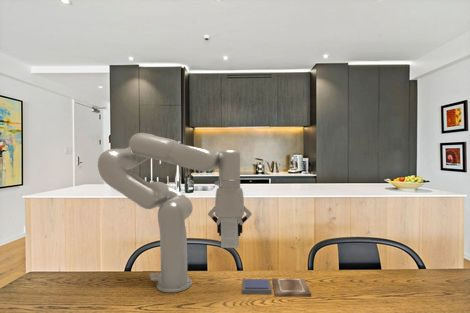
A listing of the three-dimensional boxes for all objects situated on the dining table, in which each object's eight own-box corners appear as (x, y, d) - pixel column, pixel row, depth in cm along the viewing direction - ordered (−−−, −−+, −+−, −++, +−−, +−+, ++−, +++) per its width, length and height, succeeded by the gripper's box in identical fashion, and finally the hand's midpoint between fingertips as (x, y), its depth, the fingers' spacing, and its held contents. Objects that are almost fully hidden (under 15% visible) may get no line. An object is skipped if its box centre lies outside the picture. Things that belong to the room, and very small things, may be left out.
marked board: (274, 296, 105) (274, 292, 104) (272, 281, 117) (272, 277, 116) (311, 296, 104) (311, 292, 104) (304, 281, 116) (304, 277, 116)
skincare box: (238, 244, 113) (238, 211, 112) (237, 248, 109) (237, 214, 108) (222, 244, 113) (222, 211, 113) (220, 247, 109) (220, 213, 109)
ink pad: (242, 294, 107) (242, 288, 107) (242, 282, 116) (242, 277, 116) (271, 294, 106) (271, 289, 106) (269, 282, 115) (269, 278, 115)
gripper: (203, 185, 107) (204, 237, 108) (254, 185, 106) (254, 238, 107) (206, 183, 115) (207, 232, 115) (253, 183, 114) (254, 232, 114)
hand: (229, 234), depth 111 cm, fingers closed on skincare box, 6 cm apart
